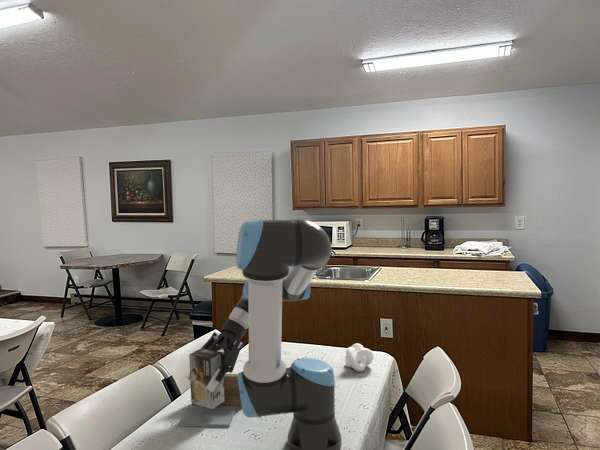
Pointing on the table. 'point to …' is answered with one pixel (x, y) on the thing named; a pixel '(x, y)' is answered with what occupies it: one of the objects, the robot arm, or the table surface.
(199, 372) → the coffee box
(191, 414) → the mat
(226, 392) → the walnut screen
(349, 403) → the table surface
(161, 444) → the table surface
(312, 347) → the table surface
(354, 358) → the white lobed ornament
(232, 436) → the table surface
